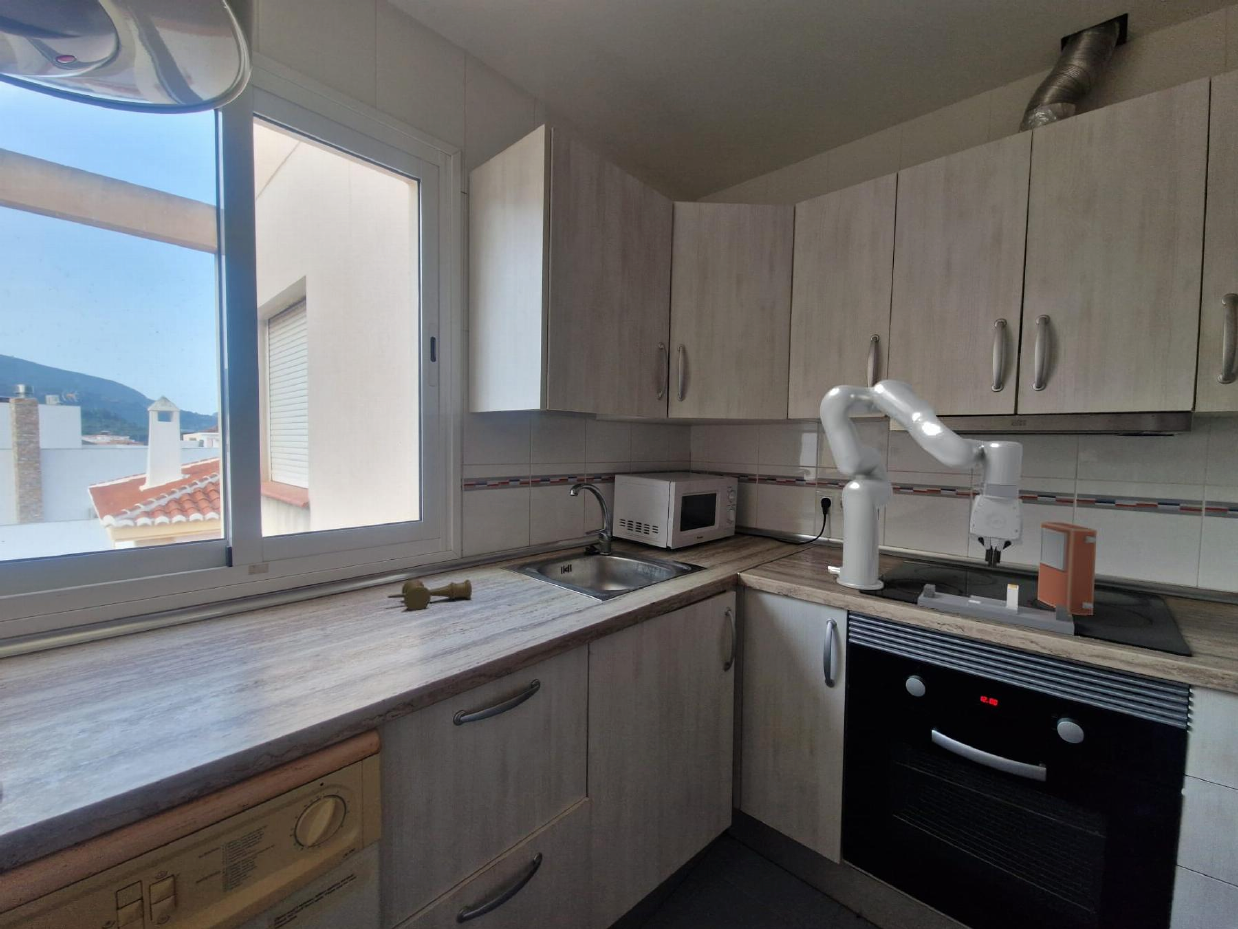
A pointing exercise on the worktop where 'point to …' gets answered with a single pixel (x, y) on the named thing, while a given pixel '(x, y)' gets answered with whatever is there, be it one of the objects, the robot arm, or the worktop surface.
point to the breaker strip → (998, 611)
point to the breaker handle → (1012, 596)
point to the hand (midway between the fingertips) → (992, 565)
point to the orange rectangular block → (1067, 566)
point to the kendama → (431, 593)
